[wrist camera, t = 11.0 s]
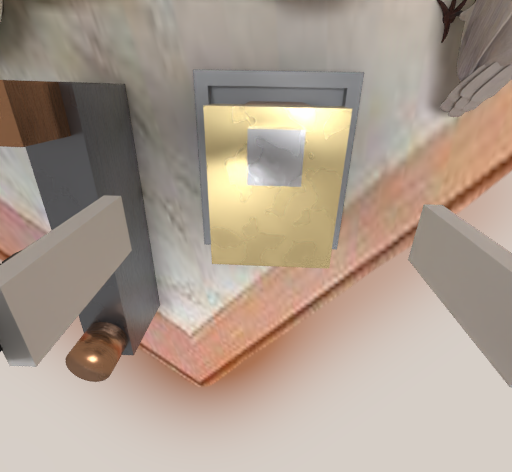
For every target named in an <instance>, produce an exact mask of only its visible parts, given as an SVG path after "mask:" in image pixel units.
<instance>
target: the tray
mask: <svg viewBox="0 0 512 472" xmlns="http://www.w3.org/2000/svg"><path fill="white" fill-rule="evenodd" d="M193 76H194V91H195V106H196V121H197V136H198V151H199V167H200V182H201V197H202V212H203V227H204V242H205V244H211V236H210V218H209V200H208V182H207V164H206V146H205V129H204V111H203V106H204V105H208V104H252V105H300V106H343V107H347V108H351V109H352V115H351V122H350V129H349V136H348V143H347V149H346V156H345V163H344V170H343V177H342V183H341V190H340V197H339V204H338V211H337V217H336V224H335V231H334V238H333V245H332V249H337V244H338V238H339V231H340V225H341V219H342V212H343V206H344V199H345V193H346V186H347V180H348V174H349V167H350V161H351V154H352V148H353V141H354V135H355V129H356V122H357V116H358V109H359V103H360V96H361V90H362V84H363V77H364V72H308V71H249V70H193Z"/></svg>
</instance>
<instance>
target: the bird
mask: <svg viewBox="0 0 512 472" xmlns="http://www.w3.org/2000/svg"><path fill="white" fill-rule="evenodd" d="M437 1H438V2H439V4H440V5H441V8H442V10H443V23H444V24H445V30H444V35H443V39H442V42H443V41H444V40H445V38H446V36H447V34H448V31H449V27H450V23H452V22H453V21H454V19H455V18H456V16H459V17H460V20H461V21H465V24H464V28H463V32H462V36H461V45H460V49H459V55H458V60H457V75H458V78H459V80H461V81H460V83H459V84H458V85H457V86H456V87H455V88H454V89H453V90H452V91H451V92H450V94H449V95H448V98H447V99H446V100H445V101H443V102H442V104H441V105H440V109H441V110H443V111H446V112H449V113H448V115H449V116H451V117H458V116H461V115H462V114H464V113H465V112H468V111H470V110H473V109H475V108H476V107H477V106H479V105H480V104H481V103H482V102H483V101H484V100H486V99H488V98H490V97H492V96H494V95H495V94H496V93H497V92H498V91H499V90H500V89H501V88H502V87H504V86H505V85H506V84H507V83H508V82H509V81H510V80H511V79H512V0H475V3H474V4H473V5H472V6H470V7H469V8H468V9H466V10H465V11H460V10H461V9H462V7H463V6H464V5H465V3H466V1H467V0H464V1H463V2H462V3H461V4H460V5H459V6H458V7H457V8H456V9H455V10H454V8H455V4H456V0H452V3H451V6H450V8H449V10H448V8H447V6H446V5H445V3H444V2H442V1H441V0H437Z"/></svg>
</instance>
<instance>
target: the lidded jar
mask: <svg viewBox="0 0 512 472" xmlns="http://www.w3.org/2000/svg"><path fill="white" fill-rule="evenodd" d="M2 13H3V0H0V22H1V18H2Z"/></svg>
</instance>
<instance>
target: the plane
mask: <svg viewBox="0 0 512 472" xmlns="http://www.w3.org/2000/svg"><path fill="white" fill-rule="evenodd" d="M0 146H7V147H26V150H27V153H28V156H29V159H30V162H31V166H32V169H33V172H34V175H35V178H36V182H37V185H38V188H39V191H40V194H41V197H42V201H43V204H44V207H45V210H46V213H47V217H48V220H49V223H50V226H51V229H52V230H53V229H55V228H56V227H58V226H59V225H61V224H62V223H64V222H65V221H67V220H68V219H70V218H71V217H73V216H74V215H76V214H77V213H79V212H80V211H81V210H83V209H84V208H86V207H87V206H89V205H90V204H92V203H93V202H95V201H96V200H98V199H99V198H101V197H102V196H104V195H108V196H121V198H122V203H123V208H124V213H125V218H126V223H127V228H128V233H129V238H130V243H131V249H132V251H131V252H130V253H129V255H128V256H127V257H126V258H125V259H124V261H123V262H122V263H121V264H120V266H119V267H118V268H117V269H116V270H115V272H114V273H113V274H112V275H111V276H110V278H109V279H108V280H107V281H106V283H105V284H104V285H103V286H102V287H101V289H100V290H99V291H98V292H97V293H96V295H95V296H94V297H93V298H92V300H91V301H90V302H89V303H88V304H87V306H86V307H85V308H84V309H83V310H82V312H81V313H80V314H79V318H80V322H81V325H82V328H83V331H84V334H83V336H82V337H81V338H80V339H79V341H78V342H77V343H76V345H75V346H74V347H73V349H72V350H71V351H70V352H69V354H68V355H67V357H66V365H67V367H68V369H69V370H70V371H71V372H72V373H73V374H74V375H76V376H77V377H79V378H81V379H84V380H87V381H94V382H97V381H103V380H105V379H107V378H108V377H109V376H110V374H111V373H112V371H113V369H114V367H115V366H116V364H117V362H118V361H119V359H120V357H121V355H134V353H135V352H136V350H137V348H138V346H139V344H140V342H141V340H142V338H143V336H144V334H145V332H146V331H147V329H148V327H149V325H150V323H151V321H152V319H153V317H154V315H155V313H156V311H157V309H158V308H159V306H160V304H159V298H158V291H157V285H156V279H155V272H154V266H153V260H152V253H151V247H150V241H149V234H148V228H147V221H146V215H145V209H144V202H143V196H142V190H141V183H140V177H139V171H138V164H137V158H136V152H135V145H134V139H133V133H132V126H131V120H130V114H129V107H128V101H127V94H126V88H125V84H104V83H77V82H42V81H14V80H0Z"/></svg>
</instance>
